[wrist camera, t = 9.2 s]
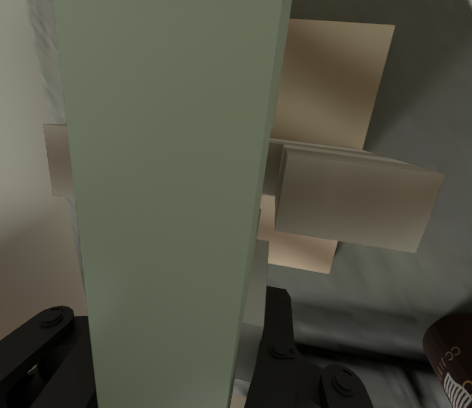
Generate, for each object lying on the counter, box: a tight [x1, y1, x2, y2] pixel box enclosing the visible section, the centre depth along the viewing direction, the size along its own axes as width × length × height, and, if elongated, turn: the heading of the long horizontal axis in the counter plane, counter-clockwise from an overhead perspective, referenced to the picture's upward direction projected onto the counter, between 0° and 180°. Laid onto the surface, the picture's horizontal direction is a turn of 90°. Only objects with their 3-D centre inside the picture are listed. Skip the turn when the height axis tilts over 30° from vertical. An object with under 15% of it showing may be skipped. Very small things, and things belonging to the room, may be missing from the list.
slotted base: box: [43, 18, 446, 274], centre depth 15 cm, size 18×16×12 cm
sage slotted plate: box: [53, 0, 292, 408], centre depth 9 cm, size 16×3×10 cm, turn 174°
